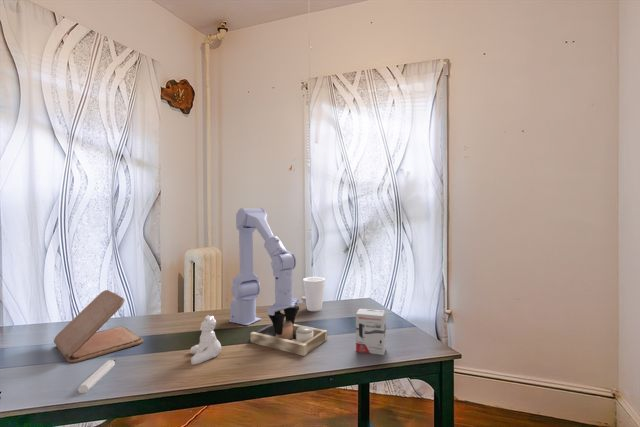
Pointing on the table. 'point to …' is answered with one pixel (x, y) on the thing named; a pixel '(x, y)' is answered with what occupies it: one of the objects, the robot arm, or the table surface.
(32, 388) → the table surface
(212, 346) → the sitting furry creature
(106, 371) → the marker
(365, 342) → the ink box
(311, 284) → the foam cup
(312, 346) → the beige flat open box
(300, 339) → the cream jar
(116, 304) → the case
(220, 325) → the table surface
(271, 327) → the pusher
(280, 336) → the terracotta jar
